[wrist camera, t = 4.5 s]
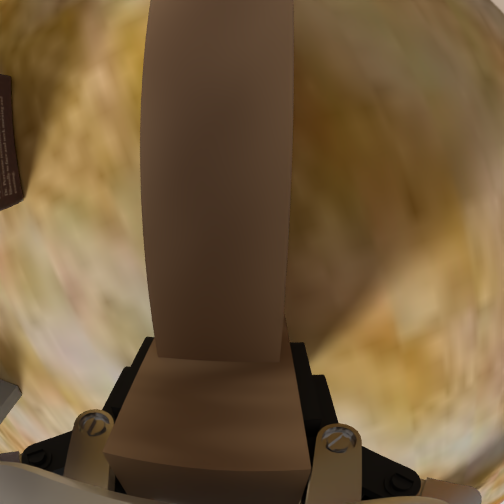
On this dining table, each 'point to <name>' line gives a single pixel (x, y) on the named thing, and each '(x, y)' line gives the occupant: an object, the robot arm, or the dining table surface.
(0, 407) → the open-sided frame
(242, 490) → the brown l-shaped block
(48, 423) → the dining table surface
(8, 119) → the box
